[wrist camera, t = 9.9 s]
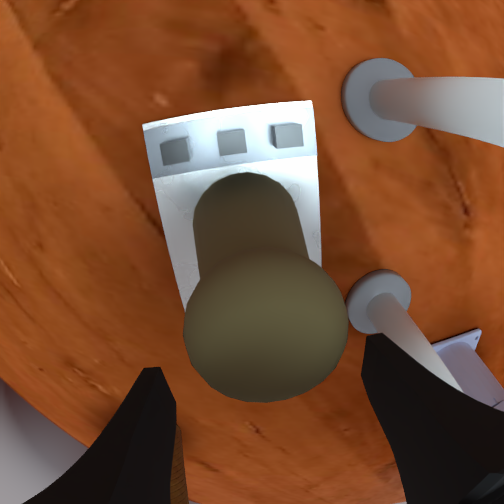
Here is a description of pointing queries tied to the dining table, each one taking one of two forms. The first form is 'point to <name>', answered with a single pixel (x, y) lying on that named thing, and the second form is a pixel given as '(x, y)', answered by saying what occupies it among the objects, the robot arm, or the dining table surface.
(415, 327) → the post
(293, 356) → the cork
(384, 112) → the post
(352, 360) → the dining table surface
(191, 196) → the board
